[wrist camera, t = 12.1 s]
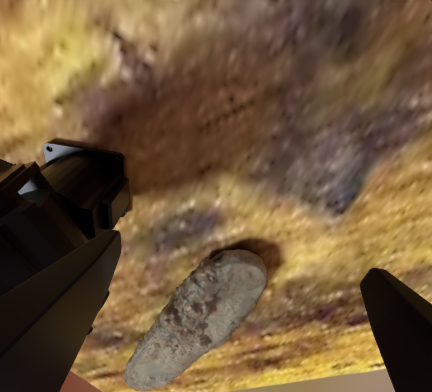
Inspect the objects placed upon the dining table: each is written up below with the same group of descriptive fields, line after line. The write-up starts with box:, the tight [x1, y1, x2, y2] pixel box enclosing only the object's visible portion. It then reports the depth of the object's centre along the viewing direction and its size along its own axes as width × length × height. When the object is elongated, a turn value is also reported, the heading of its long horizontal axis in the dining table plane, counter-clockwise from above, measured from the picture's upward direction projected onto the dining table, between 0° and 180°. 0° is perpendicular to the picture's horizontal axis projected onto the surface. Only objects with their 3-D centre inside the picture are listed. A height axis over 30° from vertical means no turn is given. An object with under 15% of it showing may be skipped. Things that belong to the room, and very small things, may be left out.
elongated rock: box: [124, 249, 267, 391], centre depth 33 cm, size 35×5×10 cm
